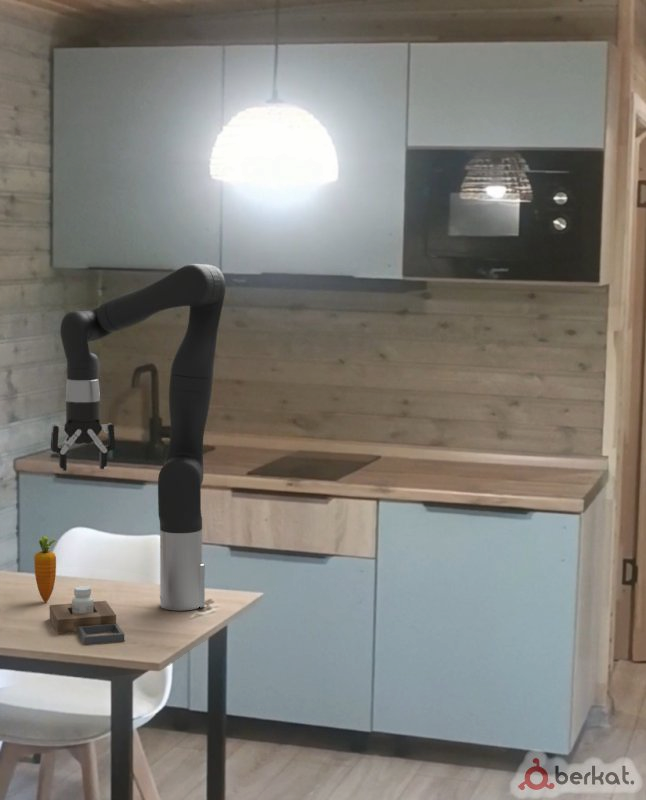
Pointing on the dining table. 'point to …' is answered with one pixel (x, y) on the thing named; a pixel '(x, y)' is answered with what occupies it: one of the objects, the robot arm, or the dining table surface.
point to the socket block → (80, 617)
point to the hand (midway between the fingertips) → (83, 469)
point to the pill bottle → (82, 600)
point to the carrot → (45, 569)
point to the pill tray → (101, 638)
